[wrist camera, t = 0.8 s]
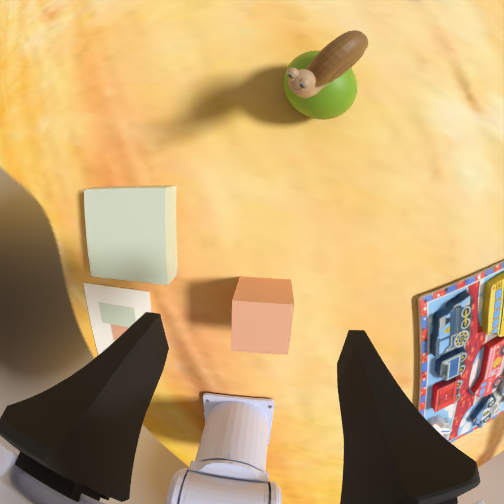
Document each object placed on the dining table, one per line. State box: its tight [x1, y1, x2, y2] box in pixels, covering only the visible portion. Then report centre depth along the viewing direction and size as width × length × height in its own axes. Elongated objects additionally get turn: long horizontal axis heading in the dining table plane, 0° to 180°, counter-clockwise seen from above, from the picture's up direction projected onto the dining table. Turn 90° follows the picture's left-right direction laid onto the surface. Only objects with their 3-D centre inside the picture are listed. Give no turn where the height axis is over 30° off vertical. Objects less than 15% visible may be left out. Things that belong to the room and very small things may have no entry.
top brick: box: [231, 276, 294, 355], centre depth 24 cm, size 4×4×5 cm
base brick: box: [84, 186, 177, 285], centre depth 25 cm, size 8×8×3 cm
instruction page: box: [83, 283, 152, 355], centre depth 29 cm, size 10×8×1 cm
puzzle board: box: [417, 260, 504, 443], centre depth 27 cm, size 30×23×3 cm
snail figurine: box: [283, 31, 368, 119], centre depth 16 cm, size 5×6×12 cm
